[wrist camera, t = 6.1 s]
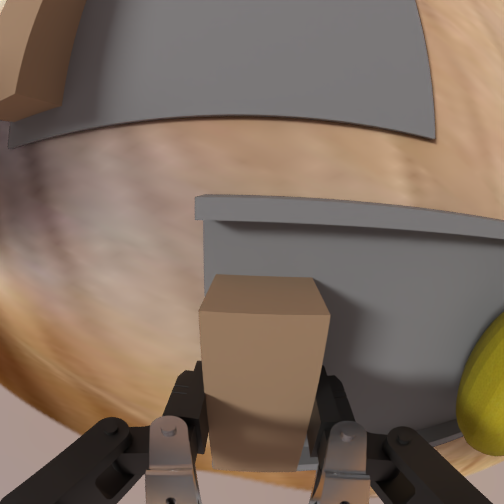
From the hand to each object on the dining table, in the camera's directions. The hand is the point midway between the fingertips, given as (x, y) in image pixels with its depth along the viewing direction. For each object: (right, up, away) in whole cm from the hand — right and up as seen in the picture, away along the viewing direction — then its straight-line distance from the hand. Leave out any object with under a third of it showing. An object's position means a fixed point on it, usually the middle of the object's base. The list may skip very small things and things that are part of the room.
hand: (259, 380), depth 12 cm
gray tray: (+10, 0, +1) cm, 10 cm away
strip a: (-3, +17, -2) cm, 17 cm away
